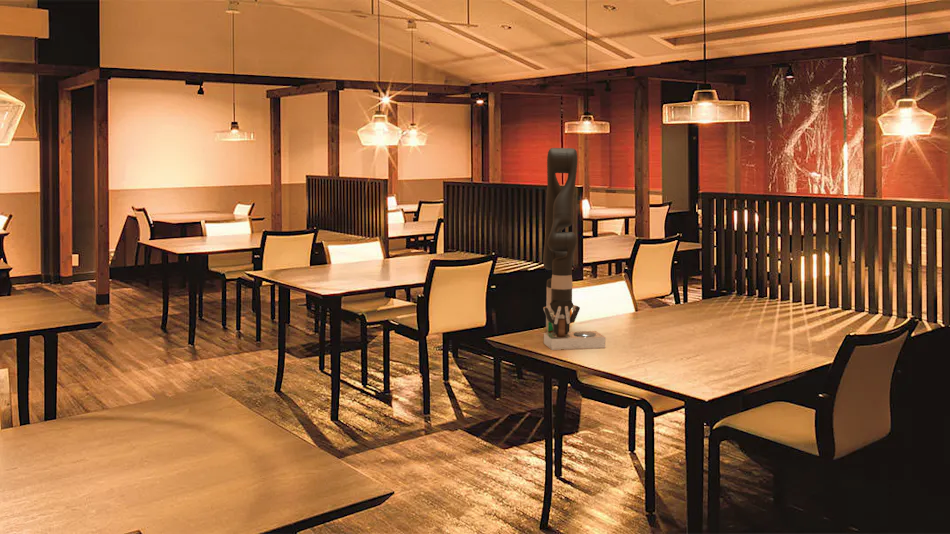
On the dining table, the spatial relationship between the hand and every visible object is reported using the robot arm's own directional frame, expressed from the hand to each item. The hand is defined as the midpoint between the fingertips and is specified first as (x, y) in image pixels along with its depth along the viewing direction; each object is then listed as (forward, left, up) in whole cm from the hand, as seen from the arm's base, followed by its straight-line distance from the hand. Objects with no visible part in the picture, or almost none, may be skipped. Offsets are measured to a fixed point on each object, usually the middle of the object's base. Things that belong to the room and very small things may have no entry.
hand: (561, 333), depth 314 cm
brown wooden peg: (0, 0, -5) cm, 5 cm away
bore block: (0, +5, -5) cm, 7 cm away
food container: (-11, +1, -5) cm, 12 cm away
